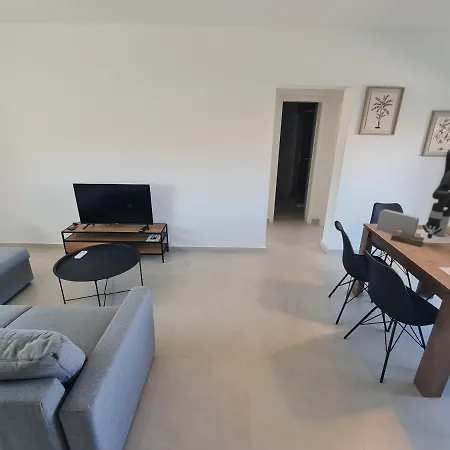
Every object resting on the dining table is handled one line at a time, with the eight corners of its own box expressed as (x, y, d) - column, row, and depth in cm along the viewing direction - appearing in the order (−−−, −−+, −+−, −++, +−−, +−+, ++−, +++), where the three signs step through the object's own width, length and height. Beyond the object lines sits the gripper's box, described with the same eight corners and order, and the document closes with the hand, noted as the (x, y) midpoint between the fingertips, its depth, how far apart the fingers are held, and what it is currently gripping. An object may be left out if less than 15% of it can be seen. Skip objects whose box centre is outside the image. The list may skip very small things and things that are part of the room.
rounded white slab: (415, 237, 229) (421, 216, 223) (411, 239, 225) (417, 218, 219) (380, 227, 251) (384, 208, 245) (376, 229, 246) (380, 209, 240)
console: (394, 235, 231) (395, 231, 230) (422, 242, 219) (424, 237, 218) (390, 239, 222) (392, 235, 221) (420, 246, 210) (421, 241, 209)
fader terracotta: (396, 234, 223) (397, 230, 222) (401, 235, 221) (402, 231, 220) (396, 235, 221) (397, 231, 220) (400, 236, 219) (401, 231, 218)
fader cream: (415, 236, 220) (416, 231, 219) (420, 237, 218) (421, 232, 217) (414, 237, 218) (416, 232, 217) (419, 238, 216) (420, 233, 215)
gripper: (446, 217, 206) (440, 239, 212) (425, 213, 214) (419, 234, 220) (446, 219, 201) (439, 242, 206) (424, 216, 209) (418, 237, 214)
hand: (429, 238), depth 213 cm, fingers closed
